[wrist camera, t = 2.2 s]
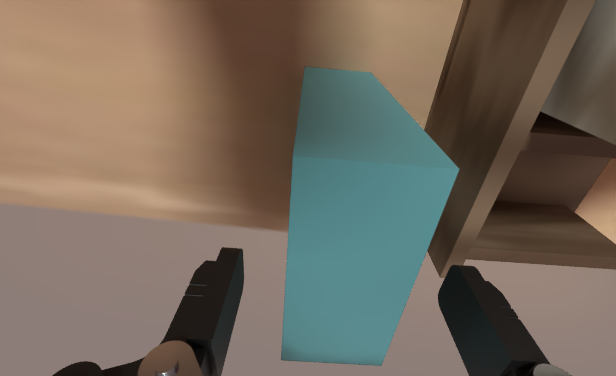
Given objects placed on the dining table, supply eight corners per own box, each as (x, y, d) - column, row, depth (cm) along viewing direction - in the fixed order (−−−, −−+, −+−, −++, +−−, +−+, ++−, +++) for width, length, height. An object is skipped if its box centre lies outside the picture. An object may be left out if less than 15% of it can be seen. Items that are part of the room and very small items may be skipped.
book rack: (479, -53, 16) (764, -157, 6) (719, -29, 17) (1366, -88, 6) (403, 200, 25) (465, 331, 15) (561, 211, 26) (726, 347, 15)
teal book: (296, 191, 25) (280, 360, 13) (304, 66, 20) (292, 155, 8) (348, 195, 25) (381, 365, 13) (370, 72, 20) (459, 169, 8)
